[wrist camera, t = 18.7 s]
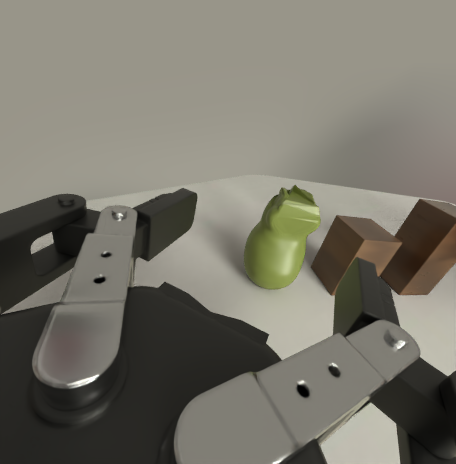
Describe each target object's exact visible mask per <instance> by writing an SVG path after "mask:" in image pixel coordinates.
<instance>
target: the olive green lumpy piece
mask: <svg viewBox="0 0 456 464" xmlns="http://www.w3.org/2000/svg"><path fill="white" fill-rule="evenodd" d="M319 225H320V212H319V207H318V206H317V205H316V204H315V202H314V199H313V196H312V194H310V193H308V192H307V191H305V190H302V189H299V188H298V187H297V186H296V185H294V186H293V187H292V189H291V190H286V189H285V188H281V190H280V192H279V194H278V195H276V196H274V197H273V198H272V199H271V200H270V202H269V203H268V204H267V206H266V208H265V210H264V212H263V215H262V218H261V221H260V222H259V223H258V224H257V225H256V226H255V227H254V228H253V230H252V231H251V233H250V234H249V237H248V239H247V242H246V246H245V251H244V266H245V270H246V273H247V275H248V276H249V278H250V279H251V280H252V281H253V282H254V283H255V284H257V285H258V286H260V287H263V288H266V289H281V288H284V287H286V286H288V285H289V284H291V283H292V282H293V281H294V280H295V278H296V277H297V275H298V273H299V271H300V269H301V266H302V263H303V260H304V256H305V250H306V238H307V236H308V234H310V233H312V232H313V231H315V230H316V229H317V228H318V227H319Z"/></svg>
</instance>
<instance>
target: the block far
mask: <svg viewBox="0 0 456 464" xmlns="http://www.w3.org/2000/svg"><path fill="white" fill-rule="evenodd" d="M394 237H395V238H397V239H398V240H399V241H401V242H402V244H401V246H400V247H399V249H398V250H397V251H396V253H395V254H394V256H393V257H392V259H391V260H390V261H389V263H388V264H387V266H386V267H385V269H384V270H383V271H382V273H381V274H380V276H381V277H382V278H383V279H384V280H385V281H386V282H387V283H388V284H389V285H390V286H391V287H392V288H393V289H394V290H395V291H396V292H397V293H398V294H399V295H428V294H429V292H430V291H431V290H432V289H433V288H434V287H435V286H436V285H437V283H438V282H439V281H440V280H441V279H442V278H443V277H444V275H445V274H446V273H447V272H448V271H449V270H450V269H451V267H452V266H453V265H454V264H455V263H456V206H454V205H452V204H449V203H445V202H438V201H431V200H424V199H419V200H418V202H417V203H416V205H415V206H414V208H413V209H412V211H411V212H410V214H409V215H408V217H407V218H406V220H405V221H404V223H403V224H402V226H401V227H400V229H399V230H398V232H397V233H396V235H395V236H394Z"/></svg>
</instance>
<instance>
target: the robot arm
mask: <svg viewBox="0 0 456 464" xmlns="http://www.w3.org/2000/svg"><path fill="white" fill-rule="evenodd" d="M196 203H197V194H196V193H194V192H192V191H189V190H187V189H184V188H182V189H180V190H178V191H176V192H174V193H169V194H162V195H160V196H158V197H155V199H154V198H153V199H151V200H149V201H147V202H145V203H143V204H140V205H138V206H136V207H134V208H130V207H127V206H110V207H107V208H105V209H103V210H102V211H101V212H99V211H94V210H90V209H87V208H86V200H85V199H84V198H83V197H81V196H78V195H74V194H60V195H55V196H52V197H49V198H46V199H43V200H40V201H37V202H34V203H31V204H28V205H25V206H22V207H19V208H16V209H13V210H10V211H7V212H4V213H1V214H0V464H327V462H326V459H325V457H324V454H323V452H322V450H321V447H320V445H321V444H322V443H323V442H325V441H326V440H327V439H328V438H329V437H330V436H331V435H332V434H334V433H335V432H336V431H337V430H338V429H339V428H341V427H342V426H343V425H344V424H346V423H347V422H348V421H349V420H350V419H352V418H353V417H354V416H355V415H357V414H358V413H359V412H360V411H362V410H363V409H364V408H365V407H366V406H368V405H369V404H370V403H372V404H374V405H375V406H376V407H377V408H378V409H380V410H381V411H382V412H383V413H384V414H386V415H387V416H388V417H389V418H390V419H392V420H393V421H394V422H395V423H396V426H397V435H398V444H399V454H400V463H401V464H456V371H454V372H453V373H452V374H451V375H449V376H446V375H445V374H443V373H442V372H440V371H439V370H437V369H436V368H434V367H433V366H431V365H430V364H429V363H427V362H426V361H424V360H423V359H422V358H420V349H419V346H418V344H417V343H416V341H415V340H414V339H413V338H412V337H411V335H410V334H408V333H407V332H406V331H405V330H404V329H402V328H401V327H400V324H399V320H398V316H397V312H396V309H395V306H394V301H393V299H392V298H393V297H392V293H391V289H390V287H389V286H388V285H387V283H386V282H385V281H384V279H382V278H379V277H378V276H377V271H376V266H375V264H374V263H372V262H369V261H366V260H364V259H361V258H359V257H356V258H355V259H354V260H353V261H352V263H351V265H350V266H349V268H348V270H347V271H346V273H345V274H344V276H343V278H342V279H341V281H340V283H339V285H338V287H337V289H336V293H335V305H334V325H333V336H331V337H329V338H327V339H325V340H323V341H321V342H319V343H317V344H315V345H312V346H310V347H308V348H306V349H304V350H302V351H300V352H298V353H296V354H294V355H292V356H290V357H288V358H286V359H284V360H281V358H280V357H279V356H278V355H277V354H276V353H275V352H274V351H273V350H272V349H271V348H270V347H269V346H268V345H267V344H266V342H267V339H268V336H269V334H267V333H265V332H263V331H261V330H259V329H257V328H255V327H253V326H251V325H249V324H247V323H245V322H243V321H241V320H238V319H234V318H231V317H227V316H223V315H220V314H216V313H213V312H210V311H209V310H207V309H206V308H205V307H204V306H203V305H201V304H200V303H199V302H198V301H197V300H195V299H194V298H193V297H192V296H191V295H189V294H188V293H186V292H184V291H182V290H180V289H178V288H176V287H174V286H172V285H170V284H168V283H166V282H164V283H163V284H162V285H161V286H160V287H159V288H154V287H147V286H134V287H133V285H134V275H135V263H136V259H137V258H138V257H140V258H142V259H144V260H146V261H150V260H151V259H152V258H154V257H155V256H156V255H157V254H159V253H160V252H161V251H163V250H164V249H165V248H166V247H168V246H169V245H170V244H172V243H173V242H174V241H175V240H177V239H178V238H179V237H181V236H182V235H183V234H184V233H186V232H187V231H188V230H189V229H190V228H191V226H192V224H193V220H194V215H195V209H196ZM50 232H52V234H53V240H54V243H53V244H51V245H49V246H47V247H45V248H43V249H41V250H40V251H38V252H36V253H34V254H32V255H31V250H30V248H31V245H32V243H33V242H34V241H35V240H36V239H37V238H39V237H41V236H44V235H46V234H48V233H50ZM73 267H74V268H73ZM72 268H73V271H72V273H71V276H70V279H69V281H68V284H67V286H66V289H65V291H64V294H63V296H62V299H61V301H60V302H57V303H53V304H48V305H43V306H39V307H34V308H30V309H25V310H20V311H16V312H11V313H6V314H2V313H4V312H5V311H7V310H8V309H10V308H11V307H13V306H15V305H16V304H18V303H19V302H21V301H22V300H24V299H25V298H27V297H28V296H30V295H32V294H33V293H35V292H36V291H38V290H39V289H41V288H42V287H44V286H46V285H47V284H49V283H50V282H52V281H53V280H55V279H56V278H58V277H59V276H61V275H63V274H64V273H66V272H67V271H69V270H70V269H72ZM1 314H2V315H1Z"/></svg>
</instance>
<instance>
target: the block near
mask: <svg viewBox="0 0 456 464" xmlns="http://www.w3.org/2000/svg"><path fill="white" fill-rule="evenodd" d="M401 244H402V242H401V241H399V240H398V239H397V238H395V237H394V236H393V235H391V234H390V233H389V232H387V231H386V230H385V229H383V228H382V227H381V226H379V225H378V224H377V223H375V222H374V221H373V220H371V219H367V218H357V217H348V216H339V215H337V216H336V217H335V219H334V221H333V223H332V225H331V227H330V229H329V231H328V233H327V235H326V237H325V239H324V241H323V243H322V245H321V247H320V249H319V251H318V253H317V255H316V257H315V259H314V261H313V263H312V265H311V268H312V269H313V270H314V272H315V273H316V275H317V276H318V277H319V279H320V280H321V281H322V283H323V284H324V286H325V287H326V288H327V290H328V291H329V293H330V294H331V295H335V293H336V289H337V287H338V285H339V283H340V281H341V279H342V278H343V276H344V274H345V273H346V271H347V270H348V268H349V266H350V265H351V263H352V261H353V260H354V259H355V258H356V257H359V258H361V259H364V260H366V261H369V262H372V263H374V264H375V266H376V271H377V276H378V277H379V276H380V274H381V273H382V271H383V270H384V269H385V267H386V266H387V264H388V263H389V261H390V260H391V259H392V257H393V256H394V254H395V253H396V251H397V250H398V249H399V247H400V246H401Z"/></svg>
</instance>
